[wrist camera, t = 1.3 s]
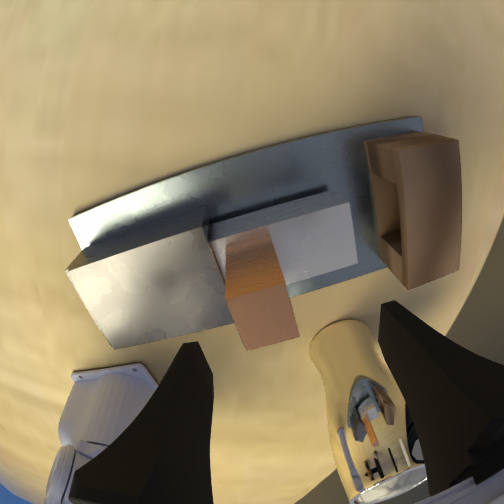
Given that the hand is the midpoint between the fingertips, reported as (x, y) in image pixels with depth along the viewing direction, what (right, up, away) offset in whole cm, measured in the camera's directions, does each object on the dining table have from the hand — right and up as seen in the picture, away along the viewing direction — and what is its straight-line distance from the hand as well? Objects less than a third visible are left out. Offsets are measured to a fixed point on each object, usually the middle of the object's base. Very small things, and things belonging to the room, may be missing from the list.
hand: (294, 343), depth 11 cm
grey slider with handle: (-4, +4, +9) cm, 10 cm away
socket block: (+9, +8, +9) cm, 15 cm away
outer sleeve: (-1, +5, +10) cm, 11 cm away
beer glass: (+7, -5, +16) cm, 18 cm away
